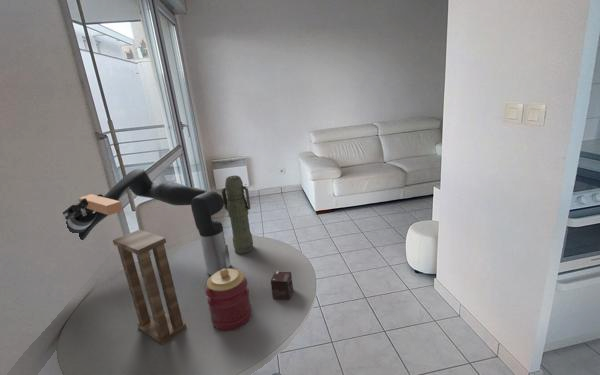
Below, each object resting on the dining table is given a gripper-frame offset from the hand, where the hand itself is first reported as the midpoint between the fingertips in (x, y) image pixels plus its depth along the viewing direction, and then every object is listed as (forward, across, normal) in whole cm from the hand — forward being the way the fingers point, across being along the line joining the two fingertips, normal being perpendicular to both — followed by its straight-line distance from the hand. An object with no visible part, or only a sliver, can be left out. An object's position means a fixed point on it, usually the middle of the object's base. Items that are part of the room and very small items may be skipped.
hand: (93, 198), depth 100 cm
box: (+21, -32, -59) cm, 70 cm away
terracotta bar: (+2, 0, -4) cm, 5 cm away
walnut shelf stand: (0, 0, -47) cm, 47 cm away
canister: (+15, -14, -55) cm, 59 cm away
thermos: (-11, -50, -40) cm, 65 cm away
